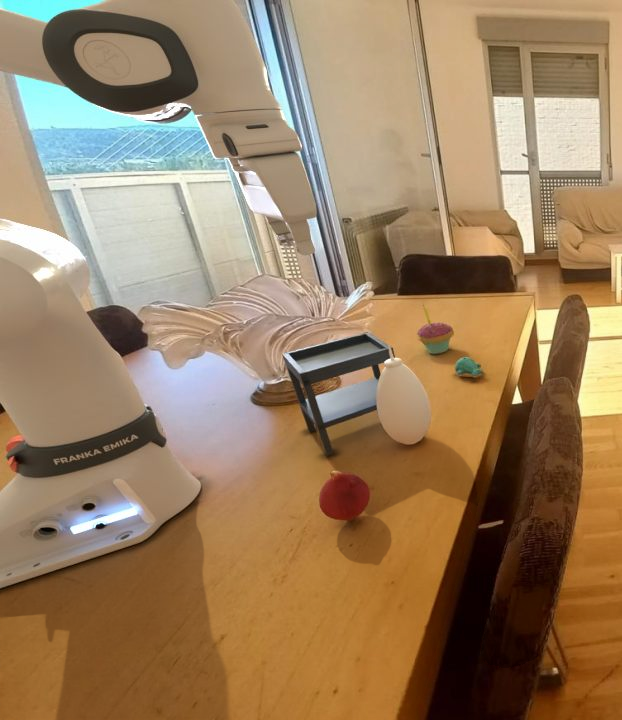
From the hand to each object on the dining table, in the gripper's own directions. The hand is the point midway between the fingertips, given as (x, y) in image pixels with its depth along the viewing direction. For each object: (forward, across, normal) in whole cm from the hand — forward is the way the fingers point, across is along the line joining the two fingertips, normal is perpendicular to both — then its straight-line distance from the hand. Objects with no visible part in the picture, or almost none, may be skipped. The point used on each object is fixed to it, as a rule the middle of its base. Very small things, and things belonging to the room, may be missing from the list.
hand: (297, 249), depth 65 cm
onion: (+33, +16, -10) cm, 38 cm away
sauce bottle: (+34, +3, +4) cm, 35 cm away
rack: (+34, -9, 0) cm, 35 cm away
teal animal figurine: (+37, -14, +25) cm, 46 cm away
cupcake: (+37, -34, +27) cm, 57 cm away
